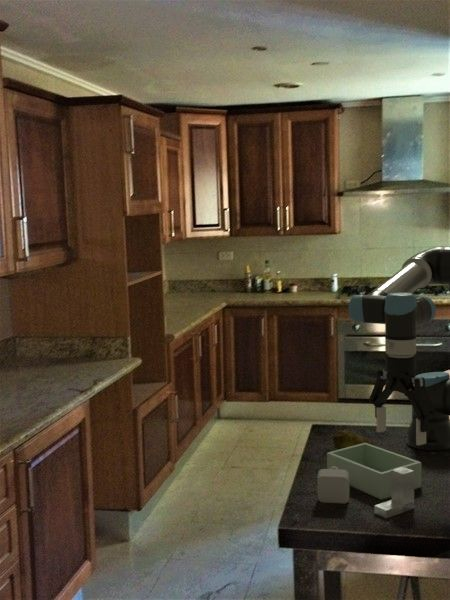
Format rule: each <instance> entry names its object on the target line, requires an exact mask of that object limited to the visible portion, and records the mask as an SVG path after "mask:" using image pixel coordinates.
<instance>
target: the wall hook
mask: <svg viewBox="0 0 450 600" xmlns="http://www.w3.org/2000/svg"><path fill="white" fill-rule="evenodd" d="M316 478H317V480H316V483H317V499H318V501H319V502H321V503H326V504H330V503H332V504H347V503H348V502H349V501H350V486H349V473H348V472H347V471H346V470H339V469H338V468H337V467H335V466H333V467H331V468H330V469H327V468H321V469H319V470H318V471H317V477H316Z"/></svg>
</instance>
